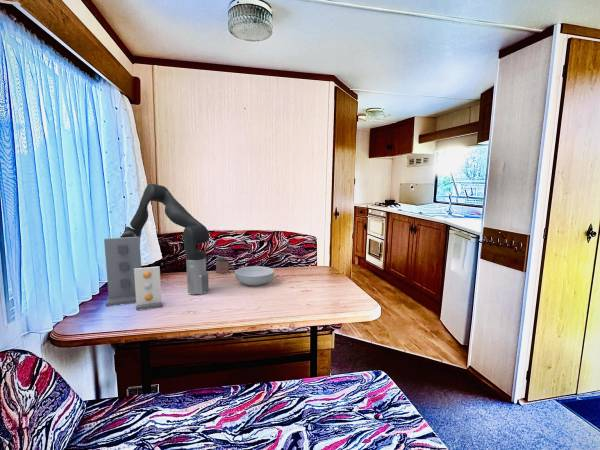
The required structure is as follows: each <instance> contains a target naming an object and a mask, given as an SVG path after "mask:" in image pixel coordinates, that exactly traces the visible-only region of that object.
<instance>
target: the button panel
mask: <svg viewBox="0 0 600 450" xmlns="http://www.w3.org/2000/svg"><path fill="white" fill-rule="evenodd" d="M103 241H104V254H105V255H104V256H105V267H106V278H107V291H108V293H107V294H108V297H107V300H106V302H105V307H114V305H116V306H121V305H120V304H124V305H127V304H126V303H131V304H134V303H133V302H136V292H135V278H134V269H137V268H142V257H141V256H142V255H141V237H140V238H139V237H125V238H120V237H109V238H104V239H103ZM123 245H127V253H124V254H118V246H123ZM127 262H128V270H127V271H120V270H119V263H127ZM127 279H129V284H130V287H128V288H121V283H120V280H127Z"/></svg>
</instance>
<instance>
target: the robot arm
mask: <svg viewBox="0 0 600 450" xmlns="http://www.w3.org/2000/svg"><path fill="white" fill-rule="evenodd" d="M150 202H158V203H160V204H162V205H163V206H164V214H165V215H166V217H167V218H168V219H169V220H170V221H171V222H172V223H173V224H175V225H177V226H179V227H183V228H184V229H183V233H182V235H183V236H182V237H183V245H184V246H183V248H184V255H185V259H186V260H185V261H186V262H185V263H186V264H185V266H186V284H187V294H188V293H190V294H203V293H204V292H206V291H208V290H209V289H210V287H209V285H210V284H209V283H210V281H209V273H208V272H207V255H206V252H205V251H204V250H199V249H197V245H202V244H206V243H207V242H208V241H209V239H210V232H209V230H208V229H207V227H206V226H205V225H204V224H203V223H201V222H200V221H199V220H198V219H196V218H195V217H194V216H193V215H192V214H191V213H190V212H189V211H188V210H187V209H186V208H185V207H184V206H183V205H182V204H181V203H180V202H179V201H178V200H177V199H176V198H175V197H174V196H173V194H172V193H171V191H170V190H169V189H168V187H166V186H164V185H161V184H155V183H149V184H148V185H146V187H145V188H144V190H143V193H142V197H141V199H140V201H139V205H138V208H137V209H136V212H135V213H134V215H133V216H132V219H131V221H130V223H129V226H125V231H124V233H123V234H122V236H121V235H120V237H119V238H125V237H139V238H140V239H141V237H142V230H143V228H144V226H145V225H146V224H147V222H148V220H149V209H148V206H149V204H150ZM209 291H210V290H209ZM209 291H208V292H209ZM206 293H207V292H206ZM190 294H189V295H190ZM204 294H205V293H204ZM204 294H203V295H204Z"/></svg>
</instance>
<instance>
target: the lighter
mask: <svg viewBox="0 0 600 450" xmlns="http://www.w3.org/2000/svg"><path fill="white" fill-rule="evenodd" d="M215 268H216V269H215V270H216V272H215V274H216V273H223V274H222V275H225V274H224V273H229V274H230V261H229V260H228V257H224V256H221V257H220V256H217V257H216V260H215Z"/></svg>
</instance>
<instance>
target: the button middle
mask: <svg viewBox="0 0 600 450" xmlns="http://www.w3.org/2000/svg"><path fill="white" fill-rule="evenodd" d="M119 270H120V271H127V270H128V262H127V263H119Z"/></svg>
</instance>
